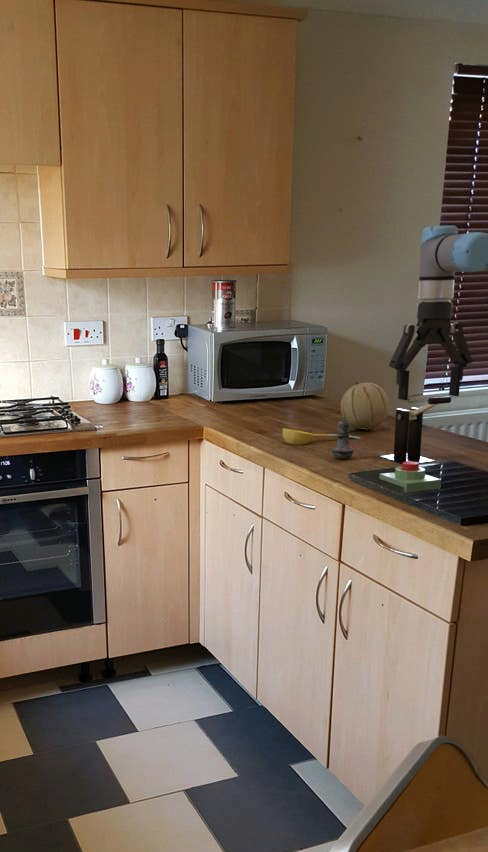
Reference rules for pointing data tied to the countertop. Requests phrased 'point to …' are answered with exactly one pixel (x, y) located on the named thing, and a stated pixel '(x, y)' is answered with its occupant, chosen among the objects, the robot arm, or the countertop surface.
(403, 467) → the button
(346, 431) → the grey chess piece
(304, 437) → the ladle
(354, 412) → the cantaloupe
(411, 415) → the lever
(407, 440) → the bracket
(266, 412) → the countertop surface
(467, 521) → the countertop surface
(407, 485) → the control block
